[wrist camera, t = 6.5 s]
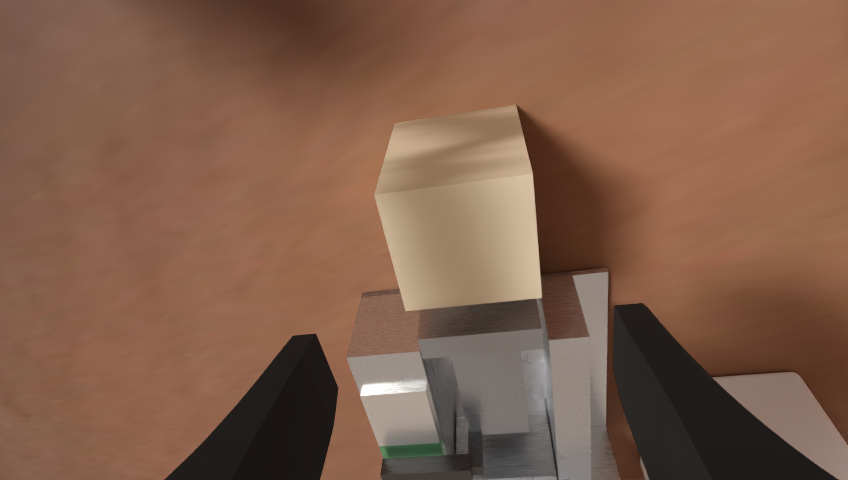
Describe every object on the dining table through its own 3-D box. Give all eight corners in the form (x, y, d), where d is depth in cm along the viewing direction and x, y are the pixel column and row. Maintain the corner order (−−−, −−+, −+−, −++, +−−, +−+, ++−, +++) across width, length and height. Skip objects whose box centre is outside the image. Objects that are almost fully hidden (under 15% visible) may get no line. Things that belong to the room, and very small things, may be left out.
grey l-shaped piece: (529, 259, 21) (543, 336, 18) (541, 394, 26) (554, 477, 22) (353, 279, 22) (332, 355, 19) (394, 404, 27) (384, 485, 23)
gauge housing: (606, 267, 23) (651, 386, 17) (604, 431, 29) (637, 556, 23) (362, 293, 24) (333, 409, 19) (410, 442, 30) (399, 561, 25)
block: (515, 104, 19) (532, 173, 14) (525, 209, 21) (542, 297, 17) (394, 123, 19) (374, 194, 15) (417, 223, 22) (405, 311, 17)
